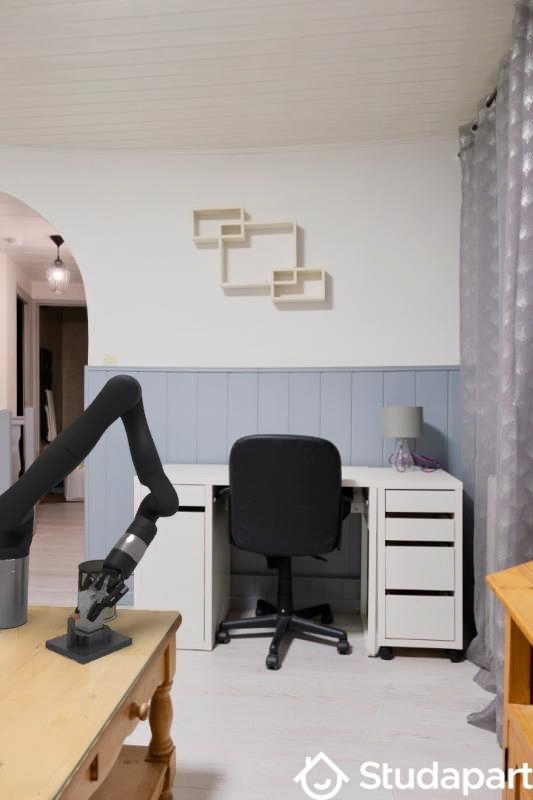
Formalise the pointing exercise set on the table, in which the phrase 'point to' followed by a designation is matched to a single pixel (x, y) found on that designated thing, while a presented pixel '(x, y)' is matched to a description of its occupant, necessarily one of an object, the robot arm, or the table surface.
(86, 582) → the robot arm
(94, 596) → the steel column
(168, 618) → the table surface
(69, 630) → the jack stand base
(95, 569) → the coffee can
